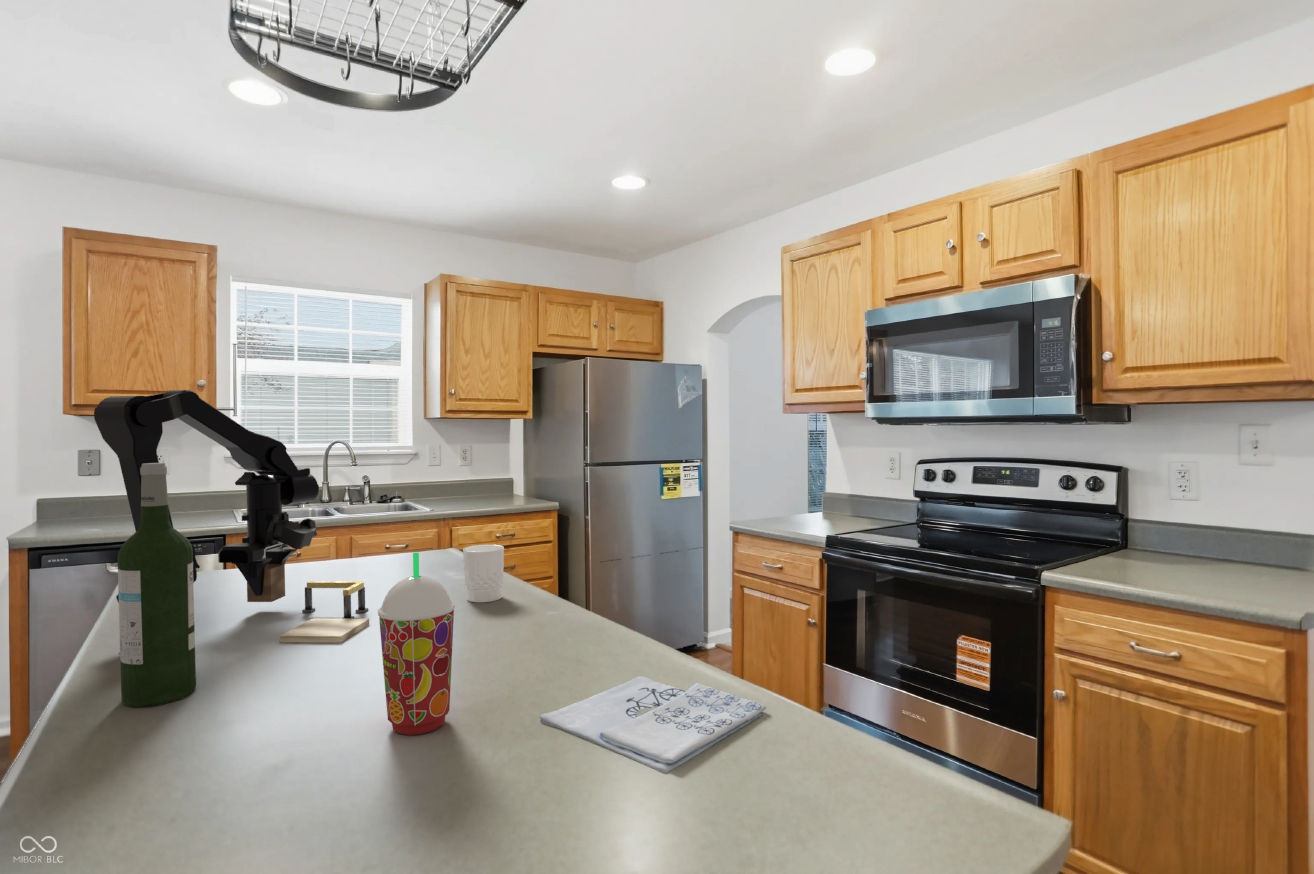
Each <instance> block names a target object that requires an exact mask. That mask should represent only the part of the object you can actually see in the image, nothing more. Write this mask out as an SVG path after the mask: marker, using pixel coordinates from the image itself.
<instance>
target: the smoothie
mask: <svg viewBox="0 0 1314 874" xmlns="http://www.w3.org/2000/svg"><path fill="white" fill-rule="evenodd" d="M412 557H413V558H412V574H413V575H412V576H408V577H406V578H403V579H401V580H400V581H398V582H397V583H395V584H394V585H393V586H392V587H391V588H390V589H389V590H388V592H387V594H386V595H385V597H384V599H383V601H382V603H381V607H379V608H378V610H377V616H379V633H380V642H381V653H382V654H381V657H382V666H383V679H384V681H383V682H384V689H385V701H386V702H385V704H386V715H387V721H388V722H389V723H391V725H392V730H393V731H394V732H395V733H398V734H400V735H406V736H417V735H418V736H419V735H423V734H428V733H431V732H433V731H435V730H437V729H439V728H440V727H442V726H443V725H444V723H445V721H446V716H447V715H448V714H449V712H450V706H451V705H450V704H451V685H452V684H451V683H452V682H451V681H452V661H453V660H452V659H453V657H452V656H453V637H454V618H455V617H454V616H455V611H454V610H455V607H456V604H455V603H454V601H452V599H451V598H450V595H449V593H448V591H447V589H446V588H445V586H443V584H441V582H439V581H437V580H436V579H434V578H432V577H429V576H427V575H425V576H424V575H420V552H416V551H415V552H412Z"/></svg>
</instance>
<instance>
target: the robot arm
mask: <svg viewBox="0 0 1314 874" xmlns="http://www.w3.org/2000/svg"><path fill="white" fill-rule="evenodd" d="M93 415H94V416H93V418H94V421H95V424H96V426H97V428H98V430H99V433H100V435H101V438H102V440H104V442H105V443H106V445H108V446H109V447H110V449H111V450H112V451H113V453H114V454H116V456H117V458H118V461H119V462H118V463H119V466H120V470H121V474H122V479H123V484H124V488H125V491H126V496H127V499H128V505H129V508H130V513H131V517H132V521H133V526H134V528H135V529H134V530H135V532H137V531H138V529H139V526H140V523H141V477H142V475H141V474H140V468H141V467H142V464H146V463H160V462H159V458H158V457H159V456H158V448H159V447H158V446H159V444H160V441H161V438H162V436H163V433H164V432H163V431H164V429H163V423H166V422H170V421H174V420H177V419H178V420H180V421H182V422H183V423H184V424H186V425H188V426H190V427H191V428H193V429H194V430H196V431H198V432H199V433H201V434H202V435H204V436H206V437H208V438H209V439H211V440H212V441H213V442H216V443H217V444H219V445H220V446H222V447H224V448H225V449H226V450H227V451H229V453H230V456H231V459H232V460H234V462H236V463H237V464H238V465H239V466H240V467H242V469H244V470H245V472H243V474H242V475H241V476H240V477H239V478H238V479H236V481H235V482H234V485H235V486H246V487H245V488H246V489H245V490H246V493H245V494H246V495H245V496H246V514H242V515H241V522H246V529H247V530H246V534H247V535H246V536H244V537H241V542H234V543H230V544H227V545H224V546H222V547H220V549H219V550H218V551H217V558H218V559H217V561H218V563H220V564H224V563H225V564H229V563H230V564H233V565H235V567H236V568H237V569H238V570H239V572H240V573H241V575H242V576H243V577H244V579H245V581H246V583H247V582H248V584H249V586H250V587H251V589H252V591H253V592H254V594H255V595H256V596H260V595H262V592H263V583H264V571H265V566H266V565H267V564H285V565H286V563H287V560H288V559H289V558H290V557H291V556H292V555H293V554H294V553H296V552H297V551H298V550H301V549H303V548H305V547H310V546H311V543H312V540H313V538H315V537H317V536H318V532H317V526H316V521H315V520H314V519H311V518H305V519H302V520H301V522H300V521H295V522H294V521H292V520H290V518H289V517H290V516H289V514H288V511H283V506H289V505H296V504H302V503H304V504H305V503H310V502H313V501H314V500H315V499H316V498H317V496H318V495H319V490H320V487H319V486H320V485H319V484H318V481H317V480H316V477H315V476H313V474H311V468H310V467H297V465H296V464H295V462H294V461H293V459H292V458H291V456H290V455H289V454H288V452H287V447H286V445H285V444H284V443H283V442H281V441H279V440H277V439H274V438H272V437H271V436H268V435H265V434H262V433H261V434H260V433H257V432H254V431H250V430H249V429H247V428H245V427H244V426H243V425H241V424H240V423H238V422H236V421H235V420H234V419H232V418H231V417H229V416H227V415H226V414H225V413H223V412H222V411H220V410H219V409H217V408H215V407H214V406H213V405H211V404H209V402H207V401H205V400H204V399H203V398H201V397H200V396H199V395H198V394H197V393H196V392H194V391H192V390H191V389H176V390H173V389H172V390H171V389H170V390H167V391H165V392H161V393H155V394H152V395H121V396H116V395H115V396H114V395H113V396H109V397H105V398H104V399H102V400H101V401H100V402H99V403H98V405H97V406H96V407H94V411H93ZM168 509H169V521H170V523H171V525H172V528H174V525H173V524H174V523H173V520H172V514H171V511H170V506H169V504H168ZM191 545H192V549H193V584H194V583H195V582H196V581H197V577H198V574H197V569H200V565H199V563H198V560H197V559H196V548H195V546H194V544H192V543H191ZM115 598H116V601H117V603H118V604H119V593H117V595H116V596H115Z"/></svg>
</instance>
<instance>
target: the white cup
mask: <svg viewBox="0 0 1314 874" xmlns="http://www.w3.org/2000/svg"><path fill="white" fill-rule="evenodd" d="M462 555H463V556H462V557H463V572H464V582H465V583H464V585H465V587H466V588H465V592H466V600H467V602H472V603H490V602H495V601H499V600H500V599H502V597H503V584H504V566H505V564H504V563H505V547H504V546H503V545H500V544H476V545H471V546H470V545H469V546H466V547H463V548H462Z"/></svg>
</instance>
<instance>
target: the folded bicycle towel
mask: <svg viewBox="0 0 1314 874" xmlns="http://www.w3.org/2000/svg"><path fill="white" fill-rule="evenodd" d="M643 709H651V710H649V711H648V712H645V713H642V714H641V715H638V713H639V711H640V710H643ZM766 709H767V707H766V705H765V704H763V703H759V702H757V701H753V700H750V699H745V698H742V697H740V696H737V695H734V694H732V693H729V692H725V691H722V690H719V689H716V688H714V687H711V686H707V685H704V684H702V683H700V682H695V683H694V684H693V685H691V686H688V688H687V690H685V689H683V688H682V689H681V688H678V687H676V686H672V685H668V684H665V683H662V682H657V681H655V680H653V679H651V678H648V677H646V676H636V677H635V678H633V679H630V680H629V681H626V682H623V683H621V684H619V685H616V686H614V687H612V688H609V689H607V690H604V691H602V692H599V693H597V694H595V695H592V696H590V697H588V698H585V699H582V700H580V701H577V702H575V703H571V704H570V705H567V706H565V707H562V708H560V709H556V710H553V711H550V712H547V713H546V712H545V713H541V714H540V715H539V719H540V721H539V722H540V723H543V724H546V725H548V726H550V727H553V728H557V729H560V730H562V731H564V732H567V733H570V734H572V735H575V736H577V737H579V738H582V739H584V740H587V741H589V742H591V743H594V744H596V745H598V746H601V747H603V748H606V749H608V750H609V751H612V752H615V753H617V754H619V755H622V756H623V757H626V758H629V759H632V760H633V761H635V762H638V763H639V764H642V765H644V766H647V767H649V768H651V769H654V771H655V770H656V771H658V772H662V773H664V774H667V773H669V772H671V771H672V770H673V769H675V768H677V767H679V766H680V765H682V764H684V763H685V762H687V761H689V760H691V759H692V758H694V757H696V756H697V755H698V754H701V752H704V751H705V750H706V749H709V748H710V747H711V746H713V745H714V744H716V743H718V742H719V741H721V740H723V739H724V738H726V737H728V736H729V735H731V734H732V733H734V732H737V731H738V730H740V729H741V728H743V727H745V726H746V725H748V724H749V723H751V722H753V721H754V720H755V719H757V718H759V717H760V716H763V713H762V712H763V711H765V710H766ZM637 715H638V716H637Z"/></svg>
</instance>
